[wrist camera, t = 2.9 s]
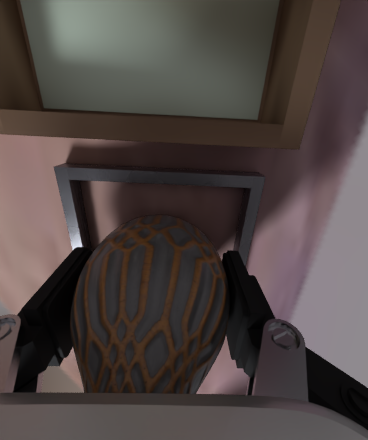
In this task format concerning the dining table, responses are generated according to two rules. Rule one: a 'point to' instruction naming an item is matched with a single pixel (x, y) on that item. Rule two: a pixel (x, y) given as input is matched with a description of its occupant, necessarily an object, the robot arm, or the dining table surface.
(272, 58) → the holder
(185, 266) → the vase
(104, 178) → the trivet frame
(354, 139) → the dining table surface
